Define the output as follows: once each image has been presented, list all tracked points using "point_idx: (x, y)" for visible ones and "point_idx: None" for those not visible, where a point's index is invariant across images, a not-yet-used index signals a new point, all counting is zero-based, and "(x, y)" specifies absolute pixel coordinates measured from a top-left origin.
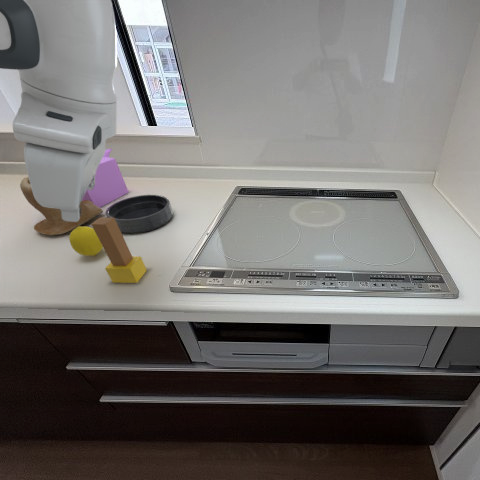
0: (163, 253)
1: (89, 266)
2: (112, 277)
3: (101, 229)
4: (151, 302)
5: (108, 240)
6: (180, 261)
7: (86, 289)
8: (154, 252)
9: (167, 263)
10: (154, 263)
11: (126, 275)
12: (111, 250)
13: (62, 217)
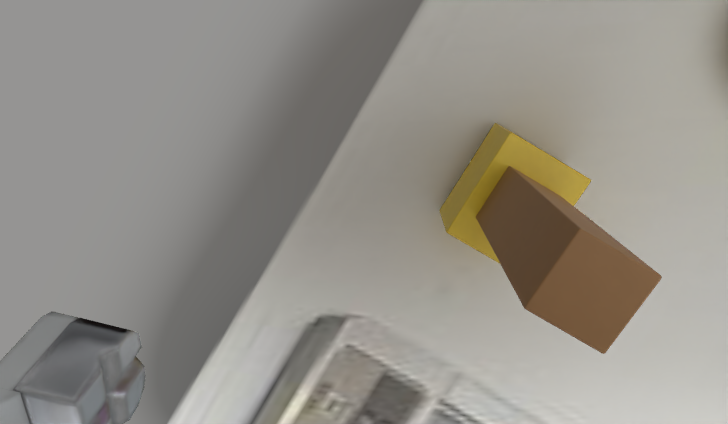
0: None
1: (690, 22)
2: (494, 135)
3: (539, 259)
4: (292, 248)
5: (516, 242)
6: (498, 375)
7: (506, 23)
8: None
9: (513, 328)
10: None
11: (459, 194)
12: (508, 214)
13: (34, 326)
